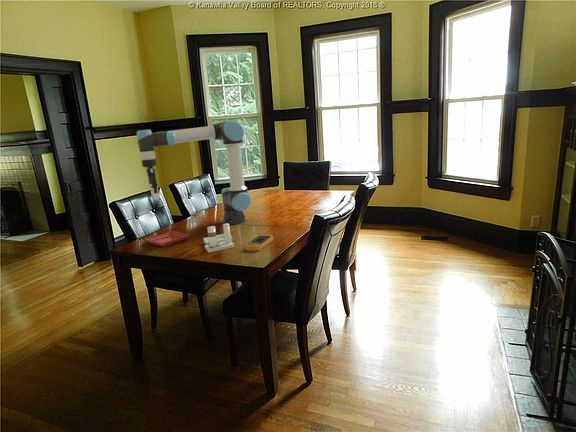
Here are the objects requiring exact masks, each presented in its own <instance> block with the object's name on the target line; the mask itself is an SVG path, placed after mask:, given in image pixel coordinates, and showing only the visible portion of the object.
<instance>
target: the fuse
mask: <svg viewBox="0 0 576 432" xmlns="http://www.w3.org/2000/svg"><path fill="white" fill-rule="evenodd" d="M222 227H223V234H224V236H225V243H226V244H230V243H231V237H232V236H231V231H230V230H231V229H230V225H229V224H228V223H226V224H222Z"/></svg>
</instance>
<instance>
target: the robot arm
mask: <svg viewBox="0 0 576 432" xmlns="http://www.w3.org/2000/svg"><path fill="white" fill-rule="evenodd" d="M244 136H245V128H244V125H243V124H242V123H240V121H237V120H232V119H230V120H224V121H220V122H217V123H212V124H210V125H209V126H200V127H199V126H198V127H193V128H192V127H191V128H183V129H174V130H168V131H167V130H166V131H165V130H164V131H156V132H152V130H151V129H142V130H140V129H139V130H137V131H136V139H137V144H138V148H139V149H138V150H139V154H138V155H139V156H140V159H141V165H142V167H143V168H146V173H147V176H148V183H149V188H150V193H151V196H152V197H153V199H154V201H155V200H159V199H160V198H161V197H160V193H159V188H158V182H157V178H156V170H155V168H154V167H156V166H157V165H158V162H157V159H156V157H157V156H156V152H155V151H156V150H155V148H157V147H168V146H174V145H176V144H182V143H188V142H196V141H203V140H204V141H205V140H212V141H218V140H219V141H222V142H223V146H224V147H225V148H226V149H225V150H226V158H227V167H228V176H229V185H230V186H229V187H225V188H222V189H221V199H222V205H223V216H222V223H223V224H226V223H228V224H229V226H230V225H238V224H243V223H244V222H246V219H247V218H246V215H245V214H244V211H246V210H247V209H248V208H249V207H250V205H251V203H252V198H251V196H250V195H249V191H248V186H246V185H245V179H244V177H245V176H244V168H243V158H242V147H241V146H243V145H242V144H243V140H244V139H243V138H244ZM223 224H222V225H223Z"/></svg>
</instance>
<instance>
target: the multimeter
mask: <svg viewBox="0 0 576 432" xmlns="http://www.w3.org/2000/svg"><path fill="white" fill-rule="evenodd" d="M273 240H274V236H273V235H272V234H260V235H258V236H256V237H255V238H254V239H252V240H250V241H249V242H247V243H246V244H244V249H245V250H246V251H248V252H249V251H250V252H260V251H261V250H262V249H264V248H265V247H266V246H268V245H269V244H270V243H272V242H273Z"/></svg>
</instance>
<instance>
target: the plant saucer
mask: <svg viewBox="0 0 576 432" xmlns="http://www.w3.org/2000/svg"><path fill="white" fill-rule="evenodd" d="M170 235H173V236H177V237H180V238H177V239H176V238H175V239H174V240H172V239H170V238H169V237H168V236H170ZM188 236H189V233H183V232H178V231H173V230H171V231H166V232H164V233H160V234H157V235H154V236H151V237H147V238H145V241H146V242H147V243H149V244H150V243H151V245H154V244H155V246H158V245H159V246H158V247H161V246H163V247H162V248H165V247H164V246H166V247H168V246H171V245H174V244H176V243H175V242H177V243H180V242H182V241H181V240H183V241H185V240H186V239H187V238H188ZM165 237H168V238H165ZM162 238H164V239H162ZM158 239H159V240H158ZM184 239H185V240H184ZM179 241H180V242H179ZM173 243H174V244H173ZM170 244H171V245H170ZM167 245H168V246H167Z"/></svg>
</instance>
